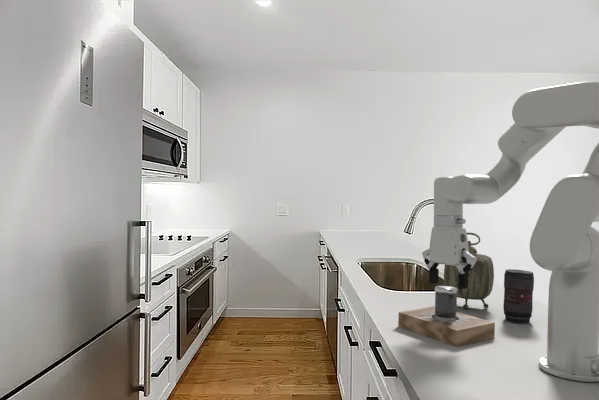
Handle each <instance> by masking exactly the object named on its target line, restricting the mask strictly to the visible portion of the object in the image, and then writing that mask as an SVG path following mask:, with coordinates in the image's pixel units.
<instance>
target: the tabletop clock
mask: <svg viewBox="0 0 599 400" xmlns="http://www.w3.org/2000/svg"><path fill="white" fill-rule="evenodd" d="M466 233H467V236H468V235H471V236H474V237H476V238H477V239H478V241H477V242H474V243H472V242H471V240H468V246H469V253H470V254H472V255H473V256H475V257H476V258H477V261H476V263H475V265H474V268H473V269H472V270H471V271H470V273H468V288H466V289H459V288H458V274H460V272H459V270H458V268H457V267H456V266H453V265H445V264H444V269H443V286H450V287H455V288H457V299H458V298H459V299H464V302H465V303H464V304H463V306H462V307H463V309H465V310H468V309H469V304H468V300H473V301H474V300H475V301H477V300H478V301H479V300H480V301H481V302H482V303H483V304H482V305H483V306H482V307H483V308H484V309H488V308H489V304H488V303H486V302H485V299H487V298H488V297H489V296H490V295H491V293H492V291H493V287H494V279H495V278H494V277H495V271H494V268H495V267H494V262H493V260H492V257H490V256H489V255H486V254H481V253H478V251H477V249H476V247H474V246H476V245H478V244H480V243H481V238H480V236H479V234H476V233H474V232H466Z"/></svg>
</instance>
